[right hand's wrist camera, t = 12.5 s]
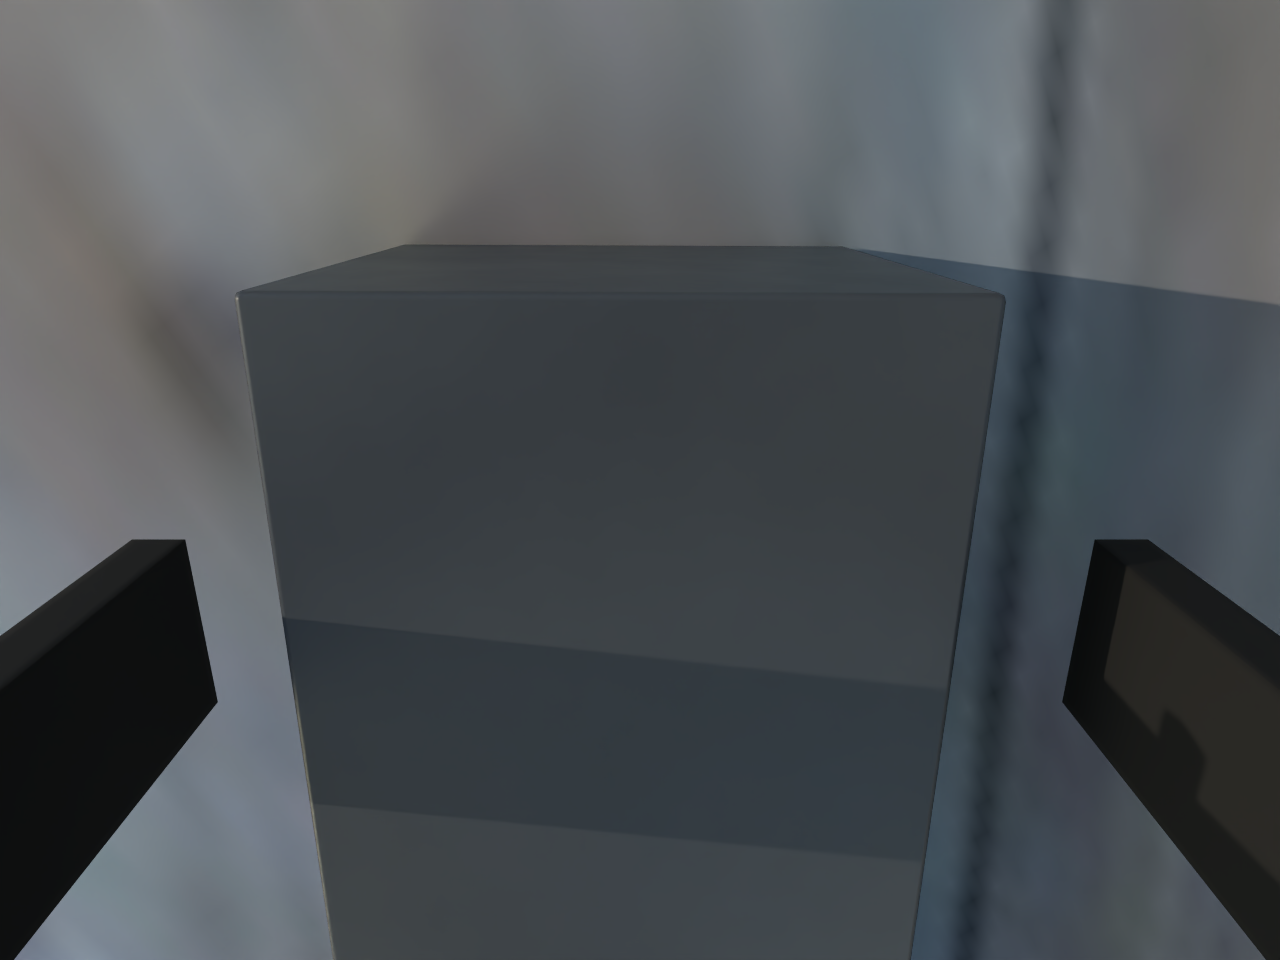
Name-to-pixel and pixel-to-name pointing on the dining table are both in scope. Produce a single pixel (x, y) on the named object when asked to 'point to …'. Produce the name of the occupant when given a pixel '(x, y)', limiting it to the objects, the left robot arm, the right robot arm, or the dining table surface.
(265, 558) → the dining table surface
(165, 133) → the dining table surface
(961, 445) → the wide beam
